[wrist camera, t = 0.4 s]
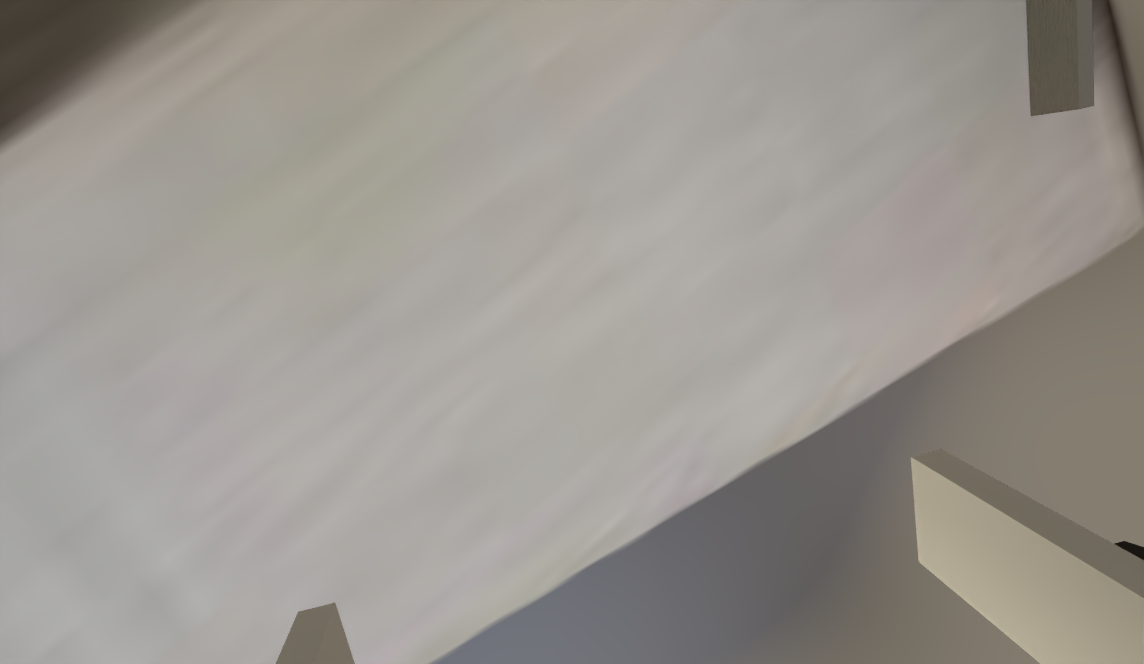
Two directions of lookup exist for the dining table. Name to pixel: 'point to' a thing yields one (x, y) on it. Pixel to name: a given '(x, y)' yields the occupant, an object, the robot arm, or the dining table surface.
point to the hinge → (1060, 55)
